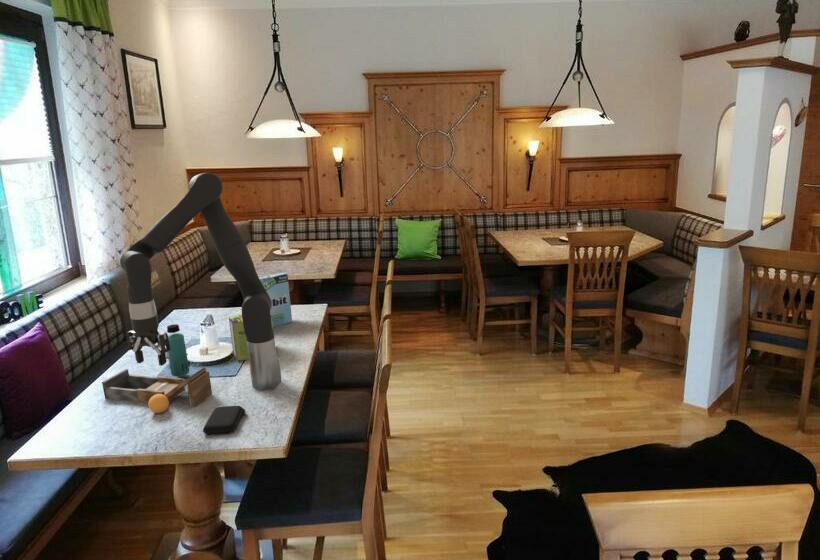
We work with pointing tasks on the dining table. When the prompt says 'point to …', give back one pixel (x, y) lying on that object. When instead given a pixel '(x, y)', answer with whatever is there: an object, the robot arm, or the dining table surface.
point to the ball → (158, 403)
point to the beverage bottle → (177, 352)
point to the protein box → (239, 337)
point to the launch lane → (157, 387)
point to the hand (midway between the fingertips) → (151, 363)
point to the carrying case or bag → (224, 420)
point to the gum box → (278, 297)
